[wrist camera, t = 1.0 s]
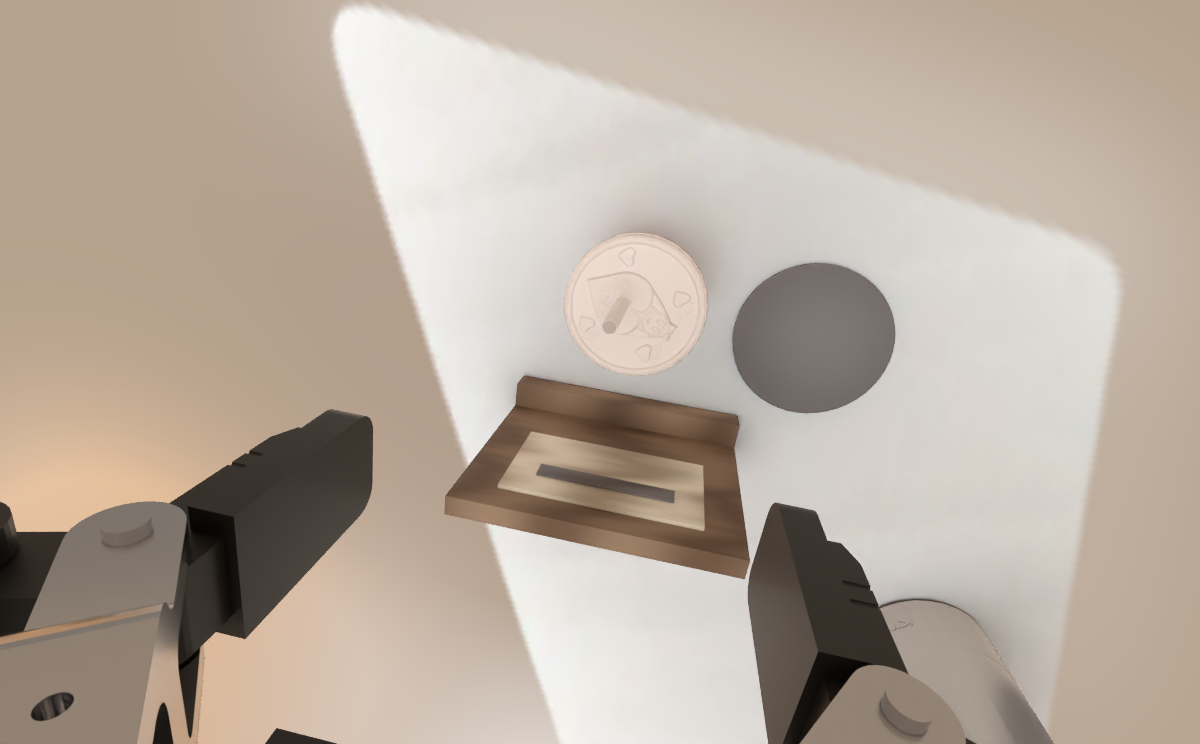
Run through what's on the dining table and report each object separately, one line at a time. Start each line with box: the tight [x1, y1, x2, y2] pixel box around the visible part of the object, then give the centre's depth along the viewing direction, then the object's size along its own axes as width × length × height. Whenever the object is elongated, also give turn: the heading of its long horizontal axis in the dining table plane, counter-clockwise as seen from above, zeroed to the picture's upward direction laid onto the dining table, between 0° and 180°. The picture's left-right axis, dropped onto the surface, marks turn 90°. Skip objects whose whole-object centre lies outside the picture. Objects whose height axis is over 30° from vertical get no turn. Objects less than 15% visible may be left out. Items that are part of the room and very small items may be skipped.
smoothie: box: [564, 232, 708, 376], centre depth 27 cm, size 6×6×14 cm
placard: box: [445, 376, 750, 579], centre depth 32 cm, size 14×4×12 cm, turn 82°
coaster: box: [733, 263, 895, 413], centre depth 34 cm, size 9×9×1 cm
